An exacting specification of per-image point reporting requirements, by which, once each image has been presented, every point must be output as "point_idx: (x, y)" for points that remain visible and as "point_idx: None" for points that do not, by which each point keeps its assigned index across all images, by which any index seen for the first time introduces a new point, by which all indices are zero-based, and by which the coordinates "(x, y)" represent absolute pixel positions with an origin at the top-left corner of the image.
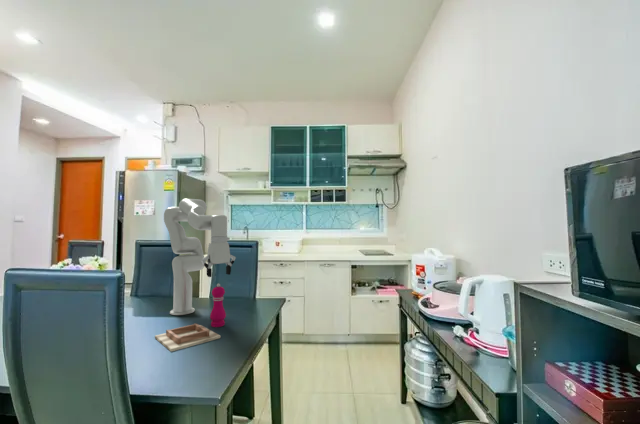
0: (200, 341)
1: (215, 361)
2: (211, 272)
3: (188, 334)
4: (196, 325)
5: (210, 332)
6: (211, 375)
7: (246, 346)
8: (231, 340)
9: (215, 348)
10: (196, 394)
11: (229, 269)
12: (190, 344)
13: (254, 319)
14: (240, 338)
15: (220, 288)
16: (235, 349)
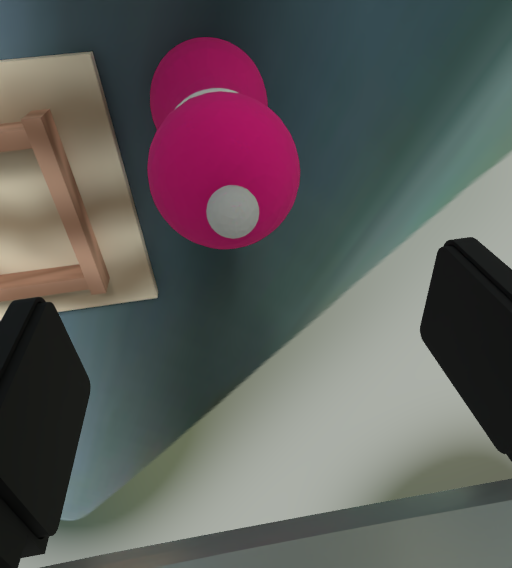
0: (63, 310)
1: (98, 431)
2: (73, 455)
3: (1, 200)
4: (41, 169)
5: (123, 236)
6: (76, 475)
7: (213, 390)
8: (190, 331)
9: (115, 364)
10: None
11: (473, 410)
12: None
13: (429, 128)
14: (227, 329)
15: (237, 243)
16: (174, 394)
